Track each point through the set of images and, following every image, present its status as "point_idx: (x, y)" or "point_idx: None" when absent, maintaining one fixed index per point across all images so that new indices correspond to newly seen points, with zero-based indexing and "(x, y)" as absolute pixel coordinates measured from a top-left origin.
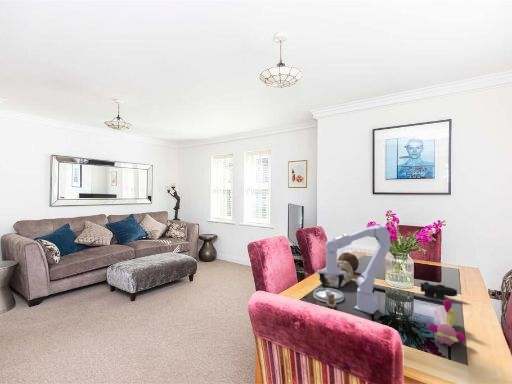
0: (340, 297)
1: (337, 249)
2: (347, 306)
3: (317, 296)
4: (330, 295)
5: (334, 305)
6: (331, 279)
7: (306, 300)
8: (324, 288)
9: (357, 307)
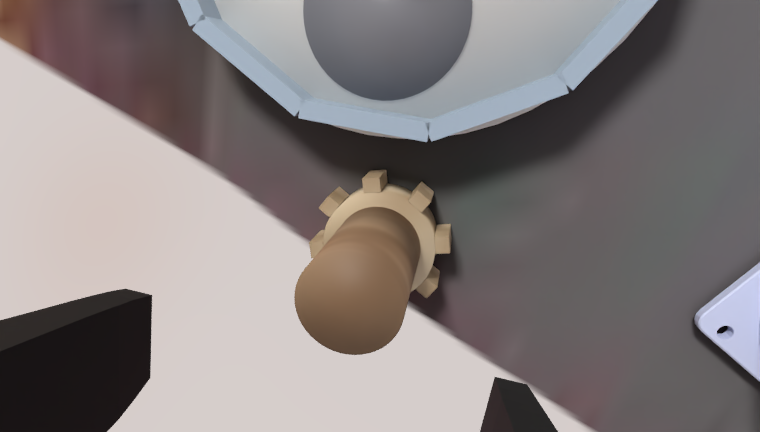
0: (593, 60)
1: None
2: (620, 243)
3: (192, 19)
4: (324, 339)
5: (415, 283)
6: None
7: (72, 62)
8: (146, 376)
9: (755, 323)
